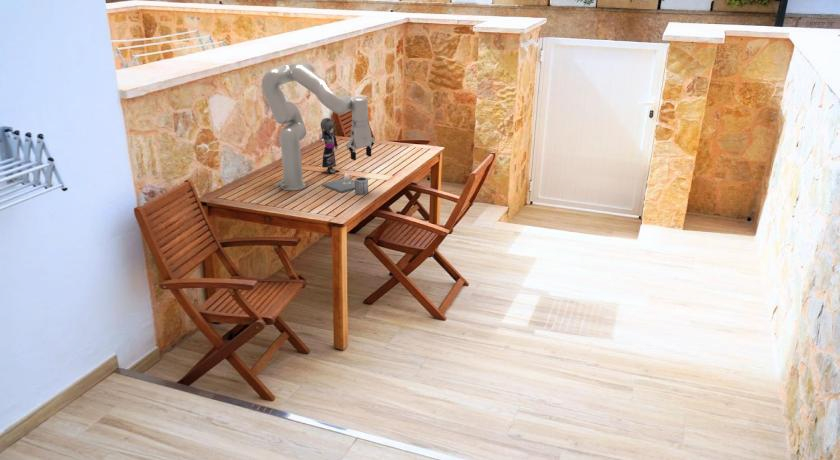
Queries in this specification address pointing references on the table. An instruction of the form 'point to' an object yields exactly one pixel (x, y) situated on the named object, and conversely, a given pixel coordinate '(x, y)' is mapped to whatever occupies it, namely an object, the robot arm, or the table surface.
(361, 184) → the duct sleeve
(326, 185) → the flange
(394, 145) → the table surface
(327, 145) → the figurine
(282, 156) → the robot arm
